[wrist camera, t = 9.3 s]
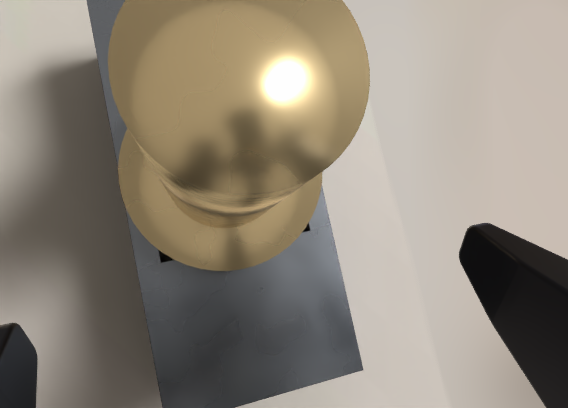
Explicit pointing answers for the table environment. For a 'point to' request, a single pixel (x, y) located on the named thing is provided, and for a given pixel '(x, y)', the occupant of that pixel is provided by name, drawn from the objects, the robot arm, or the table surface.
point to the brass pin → (232, 120)
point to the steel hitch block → (237, 303)
